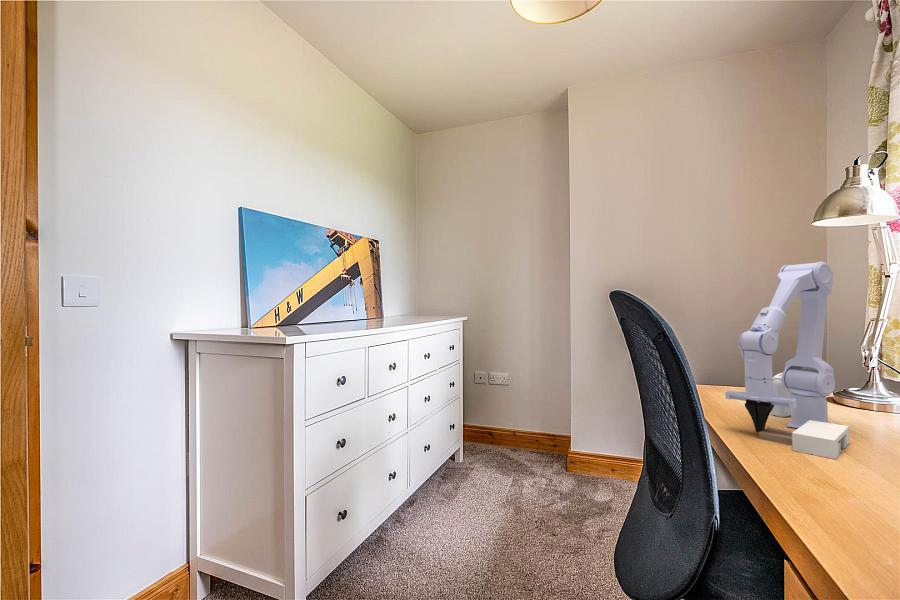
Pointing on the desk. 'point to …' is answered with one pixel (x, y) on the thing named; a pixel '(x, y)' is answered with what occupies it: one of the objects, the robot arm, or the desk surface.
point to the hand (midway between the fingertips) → (760, 431)
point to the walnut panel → (776, 435)
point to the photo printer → (782, 392)
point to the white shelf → (820, 439)
